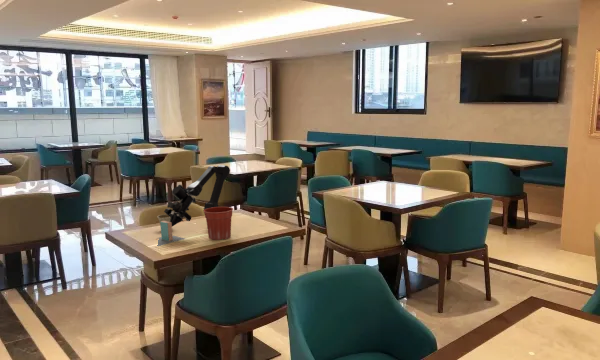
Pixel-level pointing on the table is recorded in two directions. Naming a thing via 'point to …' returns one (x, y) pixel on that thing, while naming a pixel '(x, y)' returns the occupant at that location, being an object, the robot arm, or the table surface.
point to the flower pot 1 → (164, 218)
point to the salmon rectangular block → (166, 230)
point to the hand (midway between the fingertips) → (169, 227)
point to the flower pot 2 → (218, 222)
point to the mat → (163, 242)
